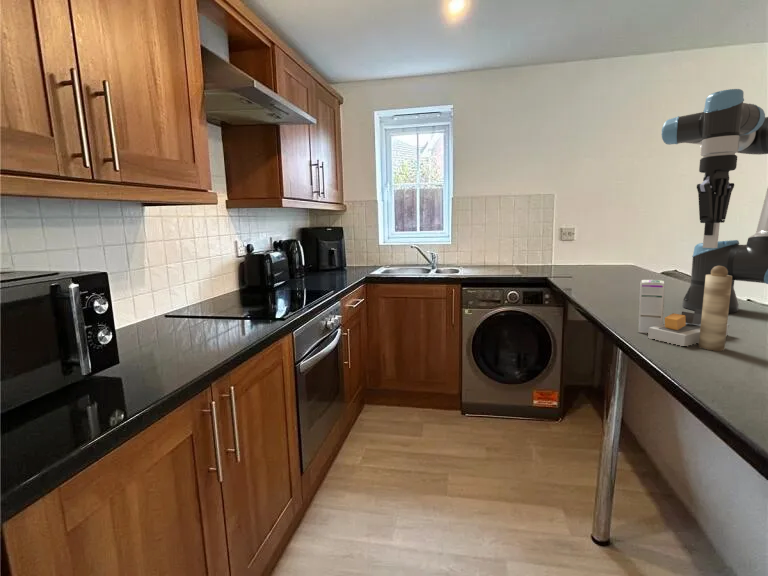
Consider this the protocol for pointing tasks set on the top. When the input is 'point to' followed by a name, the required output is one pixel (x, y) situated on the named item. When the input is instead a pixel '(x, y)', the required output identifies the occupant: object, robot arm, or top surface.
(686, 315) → the paddle middle
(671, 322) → the paddle
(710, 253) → the robot arm
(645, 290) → the syrup box
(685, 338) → the breaker strip
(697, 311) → the paddle
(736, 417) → the top surface
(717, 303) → the pepper mill
